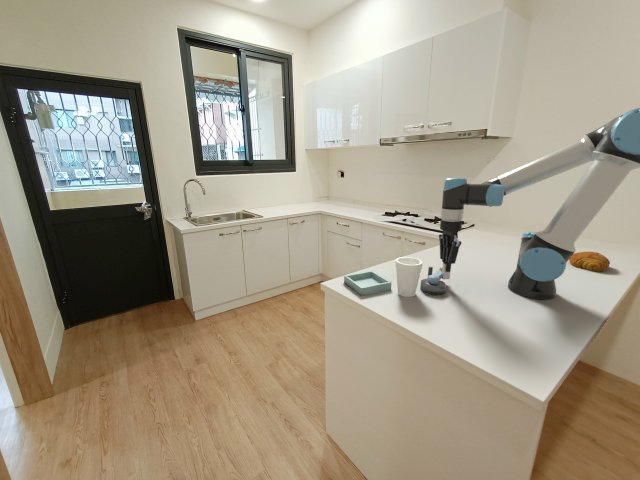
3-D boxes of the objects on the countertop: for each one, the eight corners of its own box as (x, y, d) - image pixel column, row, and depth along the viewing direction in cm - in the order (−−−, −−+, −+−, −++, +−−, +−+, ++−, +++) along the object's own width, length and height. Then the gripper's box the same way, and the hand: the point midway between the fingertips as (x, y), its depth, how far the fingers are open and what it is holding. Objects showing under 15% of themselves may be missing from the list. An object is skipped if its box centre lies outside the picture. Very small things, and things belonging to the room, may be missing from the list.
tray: (391, 289, 116) (391, 282, 115) (361, 295, 110) (361, 288, 110) (371, 277, 128) (372, 270, 127) (344, 282, 123) (344, 275, 122)
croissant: (606, 270, 141) (611, 253, 140) (607, 274, 130) (613, 257, 128) (568, 262, 151) (572, 247, 149) (566, 266, 139) (570, 249, 138)
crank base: (451, 292, 113) (453, 276, 111) (432, 297, 109) (433, 280, 107) (429, 281, 123) (430, 266, 122) (410, 285, 120) (411, 270, 118)
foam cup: (405, 300, 106) (408, 267, 103) (388, 291, 114) (390, 259, 111) (424, 295, 111) (427, 262, 107) (407, 286, 118) (409, 255, 115)
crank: (436, 285, 111) (437, 277, 110) (426, 282, 114) (426, 274, 113) (447, 275, 121) (448, 267, 120) (437, 272, 123) (438, 265, 123)
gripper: (470, 222, 105) (463, 284, 111) (452, 216, 118) (446, 272, 123) (450, 223, 105) (444, 285, 110) (434, 217, 117) (429, 273, 123)
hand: (445, 278), depth 117 cm, fingers closed
